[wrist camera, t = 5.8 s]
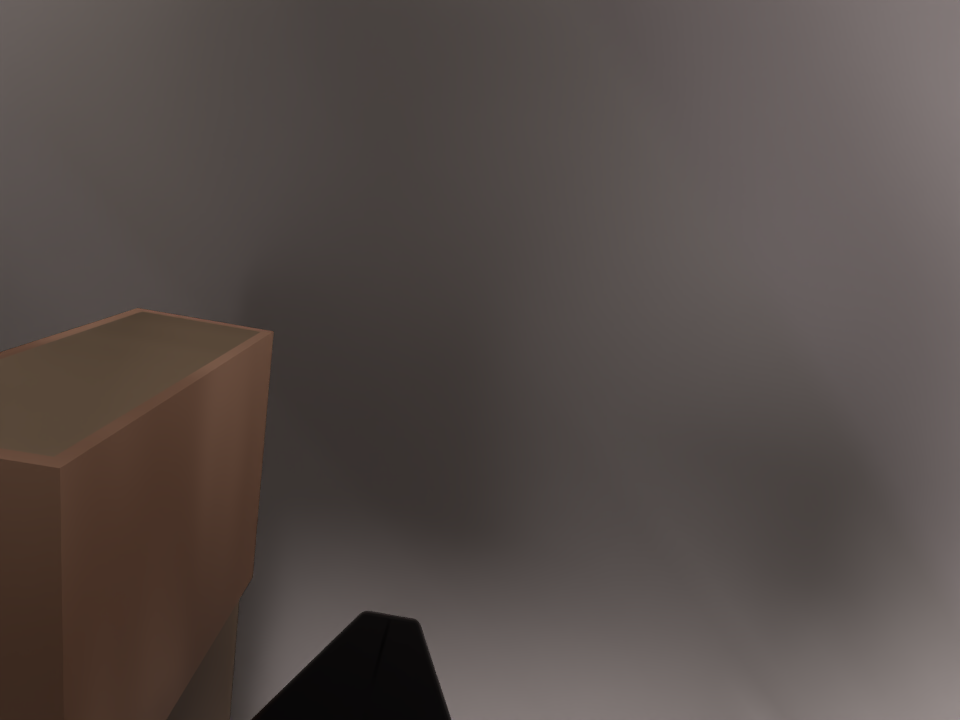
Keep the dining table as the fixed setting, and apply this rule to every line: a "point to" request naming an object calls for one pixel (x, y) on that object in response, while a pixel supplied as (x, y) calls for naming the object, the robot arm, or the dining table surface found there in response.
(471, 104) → the dining table surface
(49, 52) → the dining table surface
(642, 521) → the dining table surface
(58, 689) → the bar
